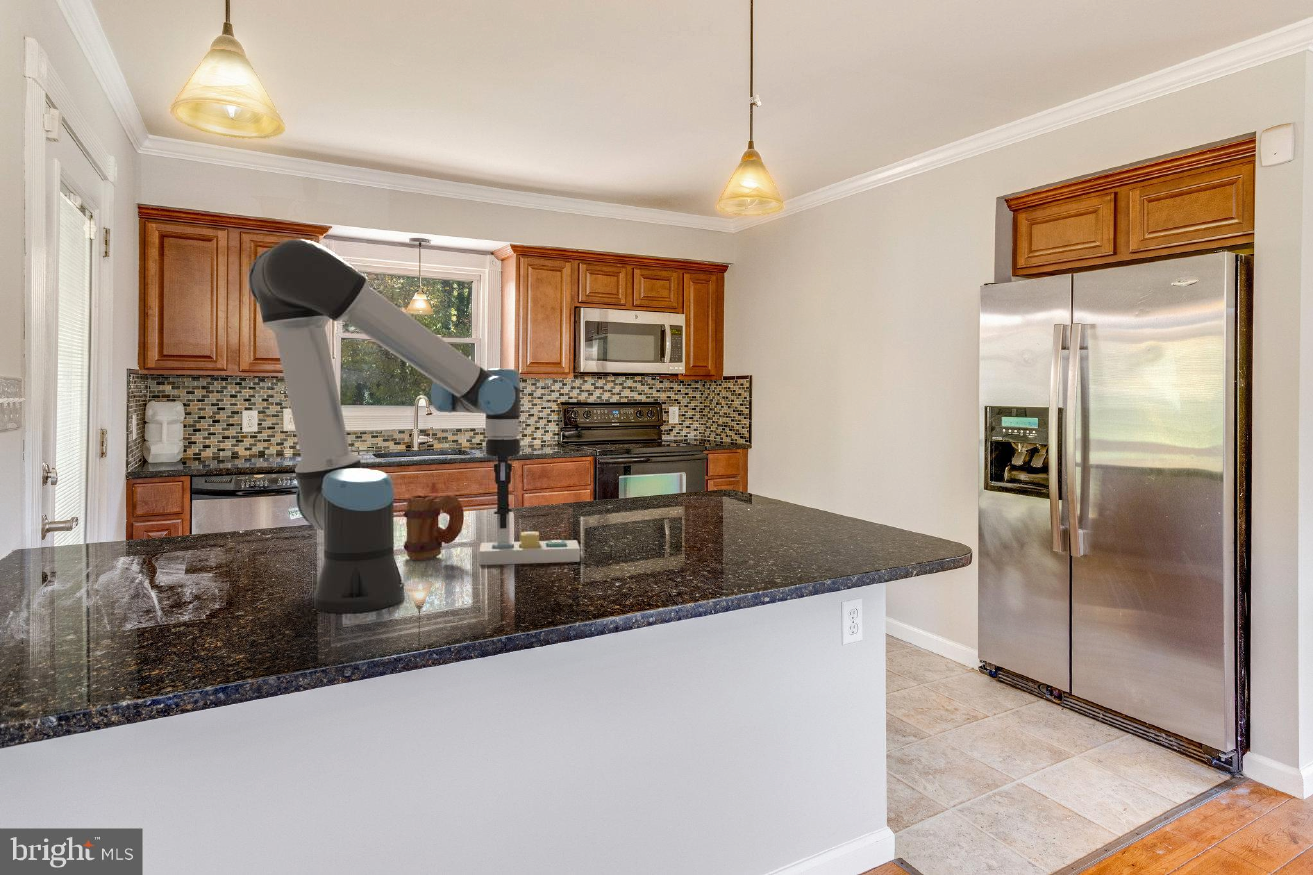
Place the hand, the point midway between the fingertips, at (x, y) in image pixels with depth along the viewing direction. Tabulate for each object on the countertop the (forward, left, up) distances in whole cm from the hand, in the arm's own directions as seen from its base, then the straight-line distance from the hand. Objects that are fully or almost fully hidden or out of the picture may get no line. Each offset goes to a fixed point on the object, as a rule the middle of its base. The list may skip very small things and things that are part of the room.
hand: (503, 541), depth 163 cm
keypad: (+4, -5, -4) cm, 7 cm away
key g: (+8, -9, -4) cm, 13 cm away
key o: (0, 0, -4) cm, 4 cm away
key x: (+4, -5, -2) cm, 6 cm away
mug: (-8, +13, -4) cm, 16 cm away
